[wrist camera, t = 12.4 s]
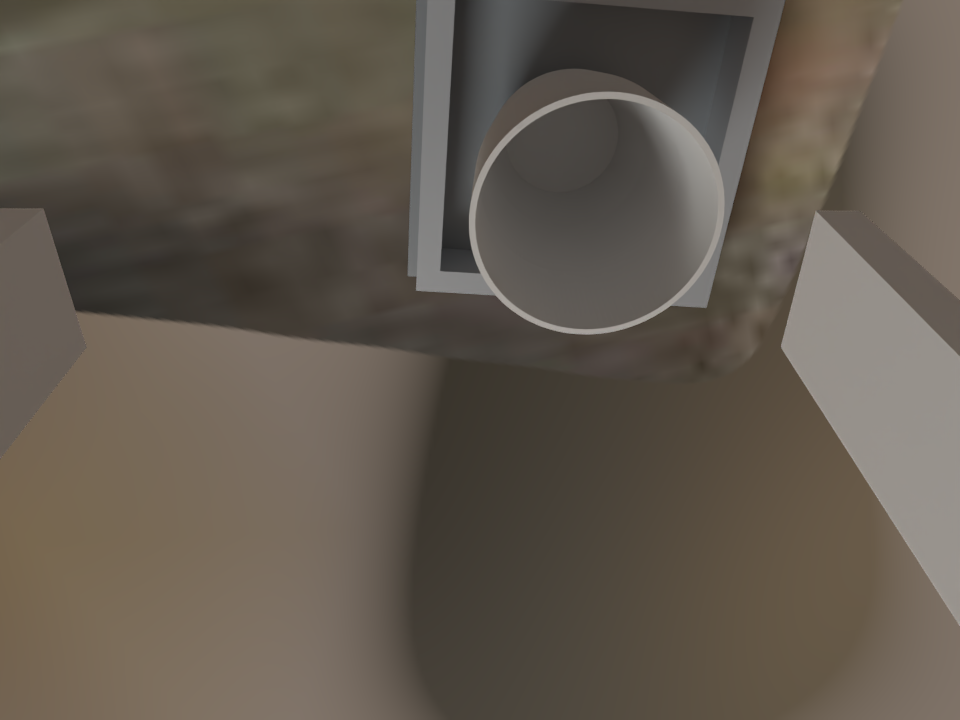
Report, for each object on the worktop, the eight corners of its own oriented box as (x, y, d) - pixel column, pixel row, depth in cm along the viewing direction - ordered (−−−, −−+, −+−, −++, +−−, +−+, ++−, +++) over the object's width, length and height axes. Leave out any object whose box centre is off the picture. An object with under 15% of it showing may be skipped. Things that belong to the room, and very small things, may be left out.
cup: (608, 248, 36) (655, 361, 28) (441, 194, 34) (436, 295, 26) (688, 75, 32) (772, 143, 24) (504, 5, 31) (522, 52, 22)
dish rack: (426, -260, 27) (418, -294, 22) (817, -221, 28) (898, -244, 23) (408, 267, 37) (400, 327, 32) (694, 284, 38) (731, 346, 33)
